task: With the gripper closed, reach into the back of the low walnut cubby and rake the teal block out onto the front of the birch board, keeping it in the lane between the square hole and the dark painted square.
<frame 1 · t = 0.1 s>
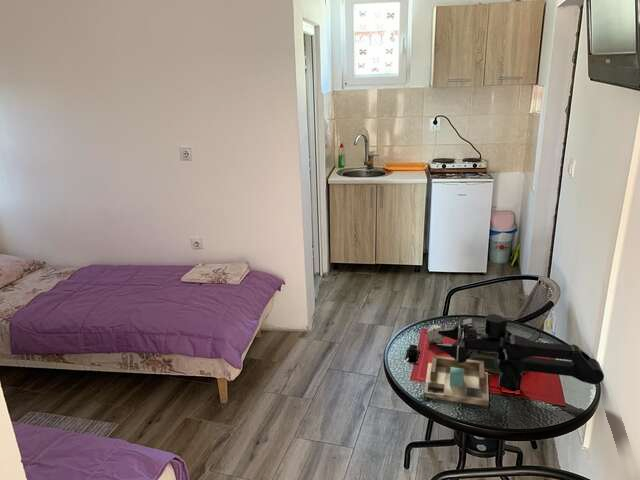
hand: (437, 338, 175), 17 cm above the table, tool horizontal, fingers open, 9 cm apart
block: (456, 382, 175), point 2 cm above the table, touching board
black box: (412, 357, 195), on the table
game die: (435, 342, 204), on the table
cubby: (456, 381, 179), resting on board
board: (456, 385, 176), on the table
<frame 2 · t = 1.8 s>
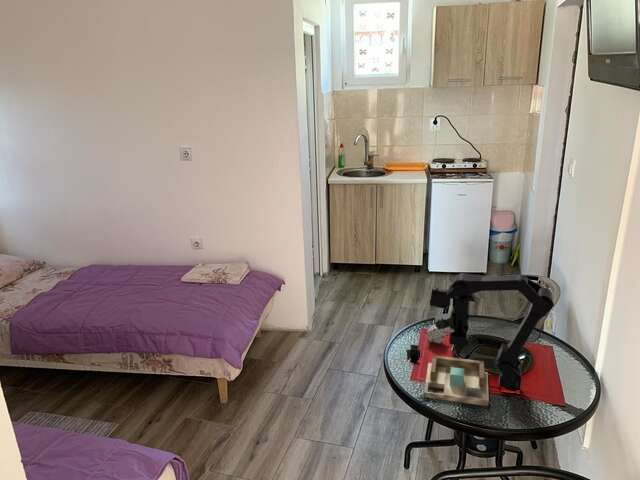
hand: (458, 349, 176), 12 cm above the table, tool pointing down, fingers open, 5 cm apart
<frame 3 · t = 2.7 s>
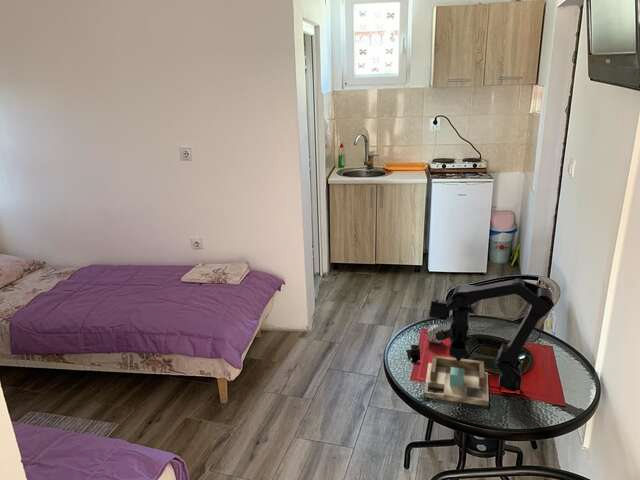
hand: (458, 360, 178), 8 cm above the table, tool pointing down, fingers closed
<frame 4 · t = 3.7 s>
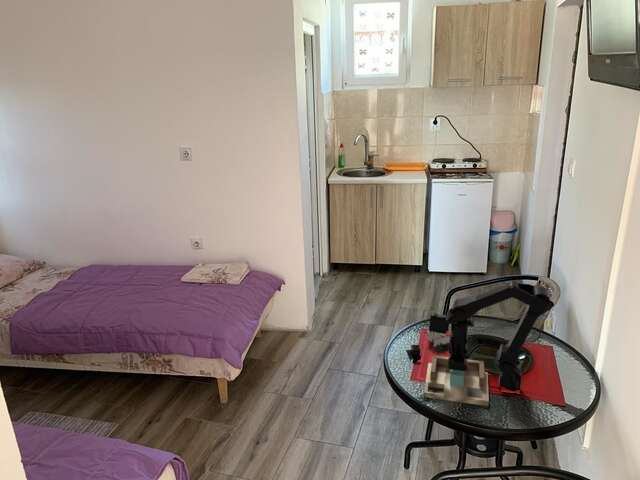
hand: (457, 372, 178), 3 cm above the table, tool pointing down, fingers closed
block: (456, 382, 175), point 2 cm above the table, touching board, gripper
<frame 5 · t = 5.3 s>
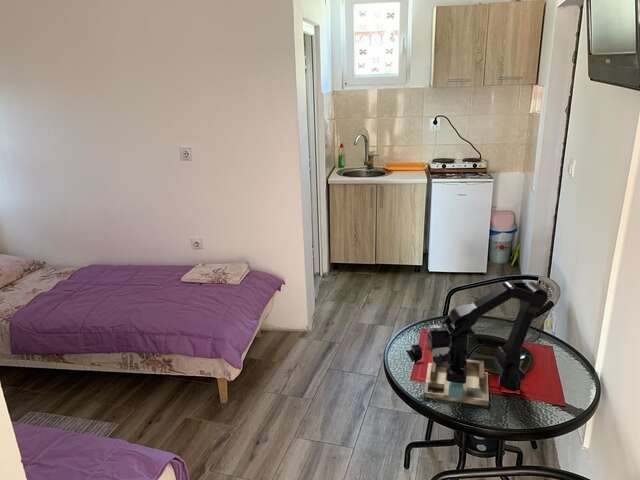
hand: (456, 383, 172), 4 cm above the table, tool pointing down, fingers closed
block: (455, 392, 169), point 2 cm above the table, tilted 8°, touching board, gripper
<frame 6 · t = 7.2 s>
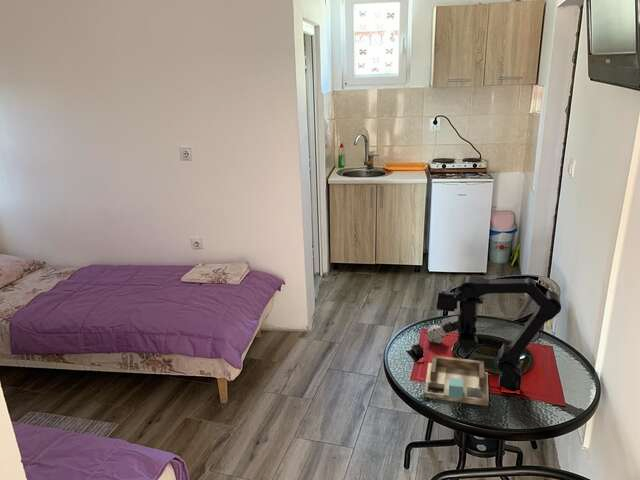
hand: (466, 352, 175), 12 cm above the table, tool pointing down, fingers closed
block: (455, 393, 169), point 2 cm above the table, touching board
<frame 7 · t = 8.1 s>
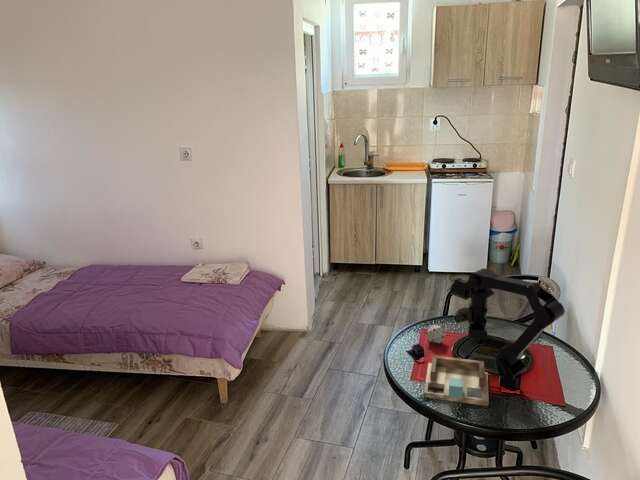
hand: (476, 342, 180), 12 cm above the table, tool pointing down, fingers closed
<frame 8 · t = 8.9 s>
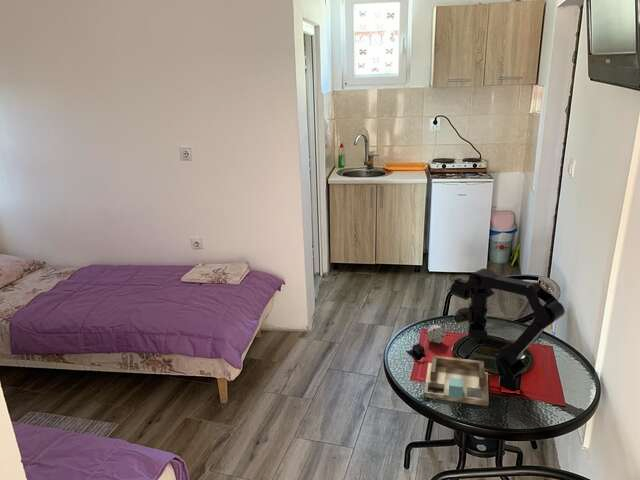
hand: (476, 342, 180), 12 cm above the table, tool pointing down, fingers closed
at the end: block inside the target area (0.7 cm from its centre), point 2.0 cm above the table; block point 2.0 cm above the table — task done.
